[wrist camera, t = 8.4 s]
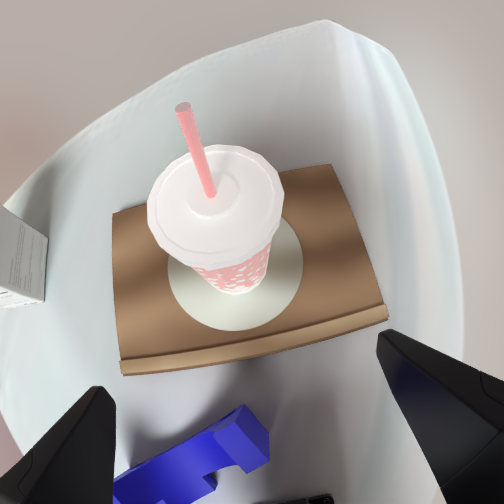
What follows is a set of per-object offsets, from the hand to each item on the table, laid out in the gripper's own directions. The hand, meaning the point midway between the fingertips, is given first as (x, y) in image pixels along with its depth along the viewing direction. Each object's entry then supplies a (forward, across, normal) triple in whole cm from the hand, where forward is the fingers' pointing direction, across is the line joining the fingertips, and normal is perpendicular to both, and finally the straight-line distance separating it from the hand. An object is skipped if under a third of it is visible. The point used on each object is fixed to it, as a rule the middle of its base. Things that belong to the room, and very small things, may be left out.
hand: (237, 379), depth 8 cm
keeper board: (+14, 0, +3) cm, 14 cm away
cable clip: (+4, +6, +14) cm, 16 cm away
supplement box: (+17, +23, 0) cm, 28 cm away
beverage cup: (+13, 0, +2) cm, 13 cm away
